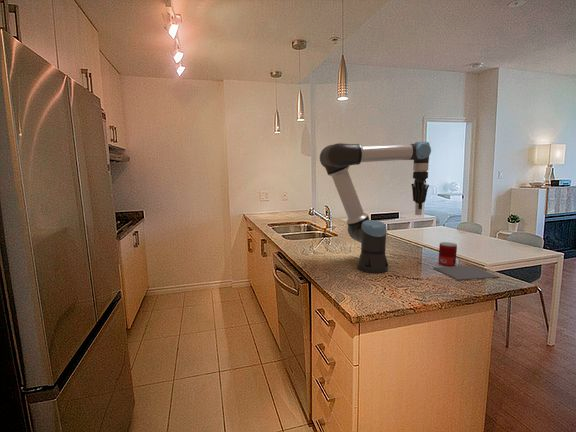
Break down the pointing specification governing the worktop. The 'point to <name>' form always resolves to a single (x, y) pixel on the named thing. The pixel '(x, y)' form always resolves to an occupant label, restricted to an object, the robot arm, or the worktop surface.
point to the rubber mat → (465, 272)
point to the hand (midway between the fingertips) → (418, 214)
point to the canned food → (447, 254)
